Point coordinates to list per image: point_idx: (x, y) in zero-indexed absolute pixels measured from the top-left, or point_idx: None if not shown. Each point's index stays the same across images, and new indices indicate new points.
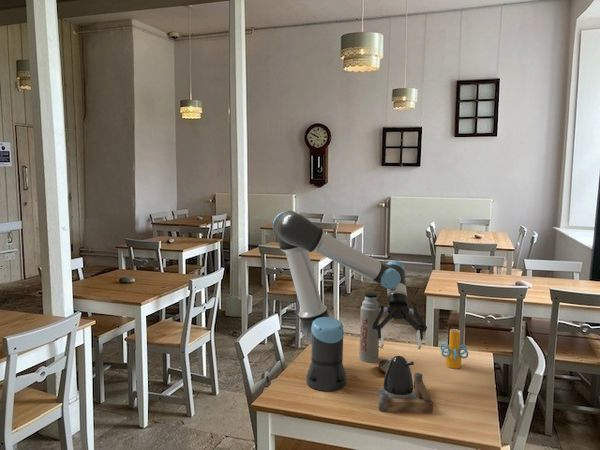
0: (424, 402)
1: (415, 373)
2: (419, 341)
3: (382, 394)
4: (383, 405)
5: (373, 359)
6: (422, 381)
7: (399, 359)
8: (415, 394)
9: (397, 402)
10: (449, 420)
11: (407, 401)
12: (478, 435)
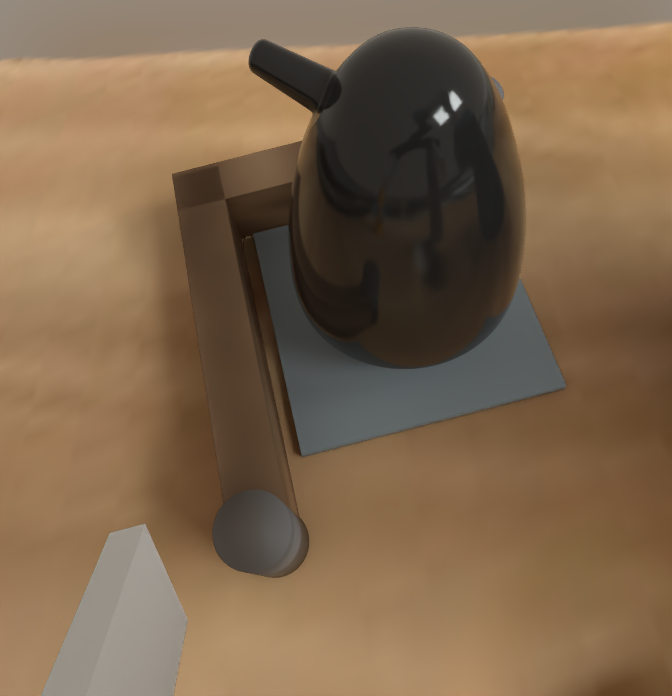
0: (223, 165)
1: (279, 552)
2: (105, 592)
3: None
4: None
5: None
6: (224, 483)
7: (398, 28)
8: (290, 397)
9: None
10: (114, 177)
11: None
12: (10, 103)
